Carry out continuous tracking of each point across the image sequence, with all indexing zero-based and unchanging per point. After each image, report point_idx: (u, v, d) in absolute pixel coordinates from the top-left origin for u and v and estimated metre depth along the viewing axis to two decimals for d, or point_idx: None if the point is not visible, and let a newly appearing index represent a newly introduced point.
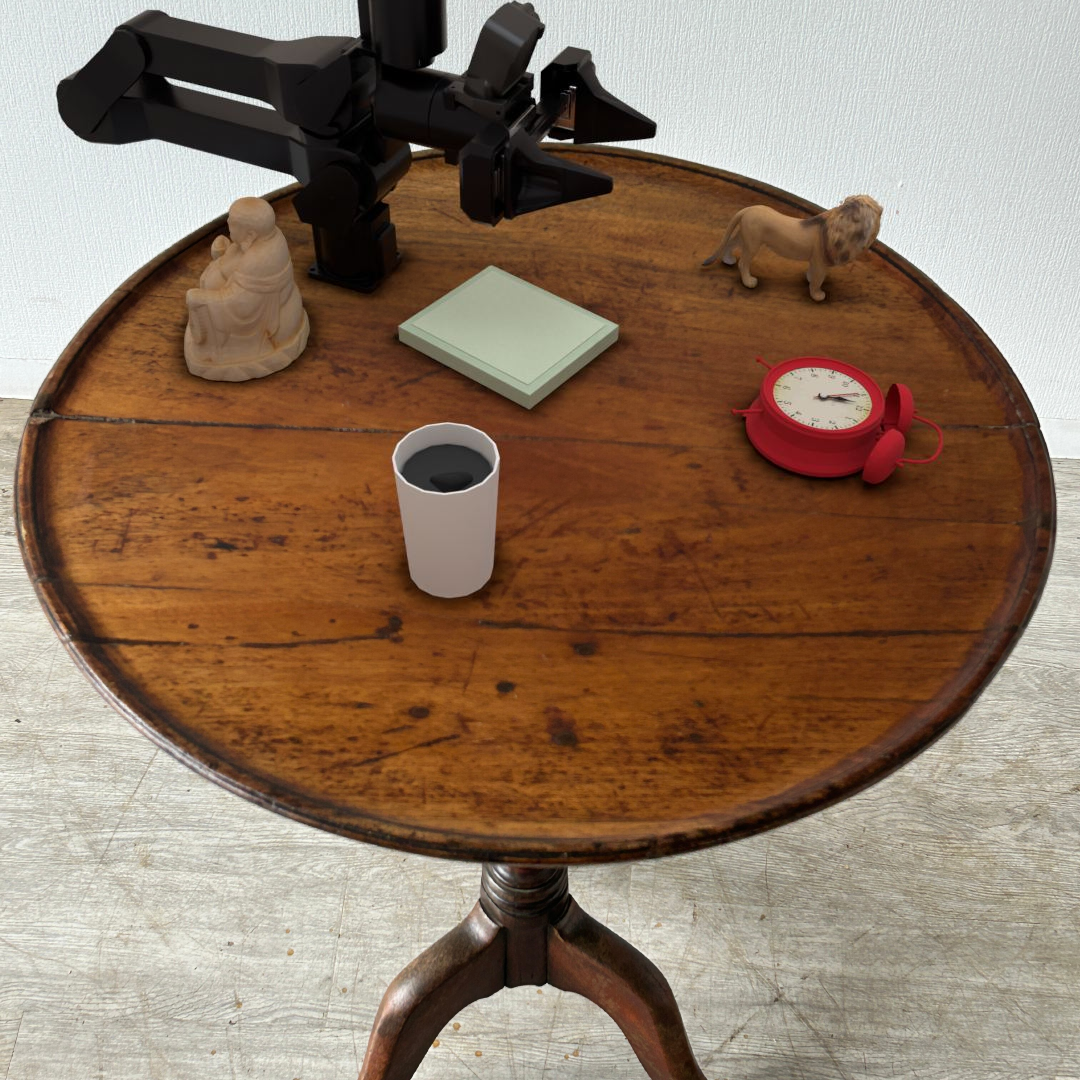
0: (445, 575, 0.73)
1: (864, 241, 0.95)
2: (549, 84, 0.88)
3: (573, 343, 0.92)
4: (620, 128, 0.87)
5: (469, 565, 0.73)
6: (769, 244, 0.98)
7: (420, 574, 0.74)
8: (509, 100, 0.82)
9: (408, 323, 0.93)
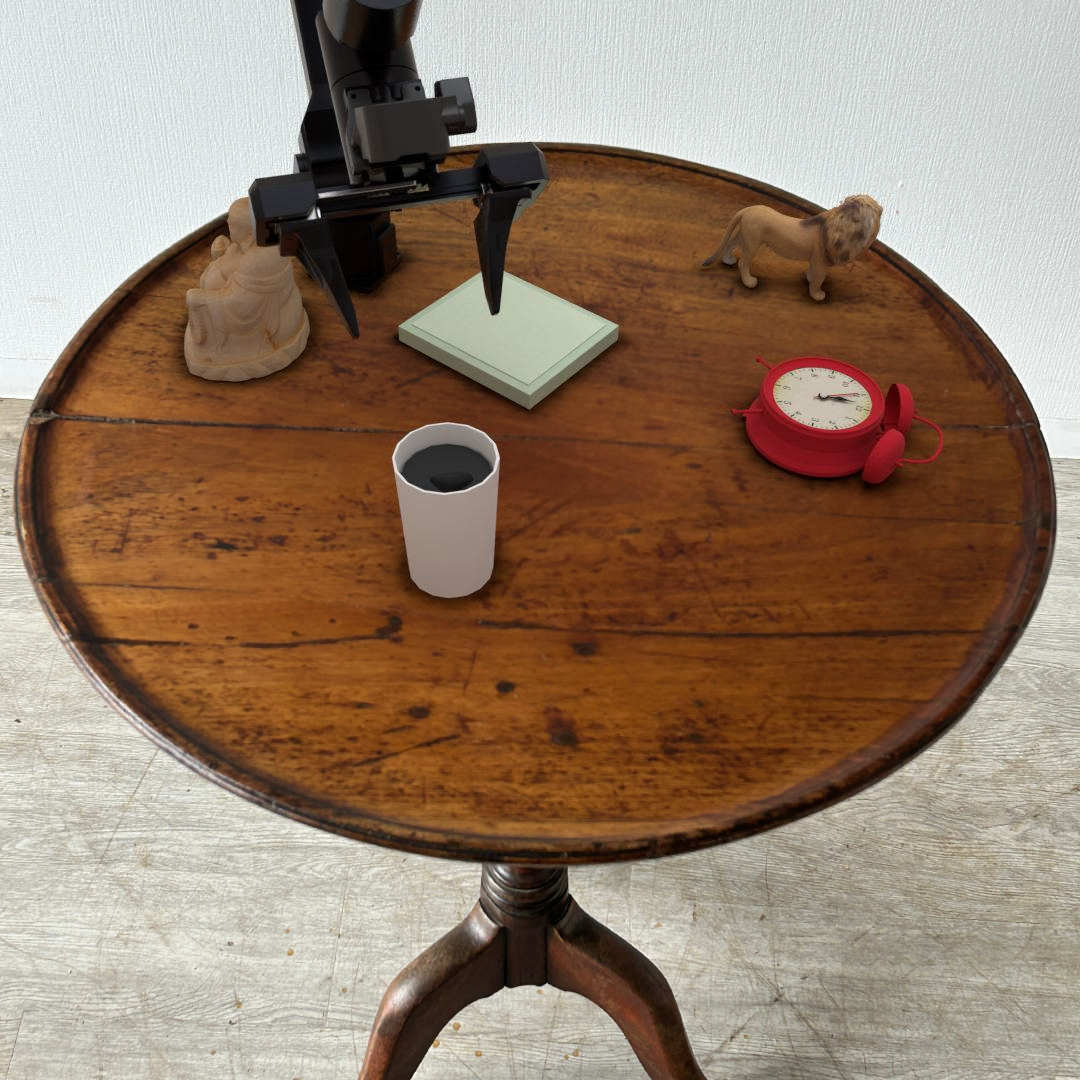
0: (445, 575, 0.73)
1: (864, 241, 0.96)
2: (481, 164, 0.72)
3: (573, 343, 0.92)
4: (485, 272, 0.74)
5: (469, 565, 0.73)
6: (769, 244, 0.98)
7: (420, 573, 0.74)
8: (378, 165, 0.69)
9: (408, 323, 0.93)
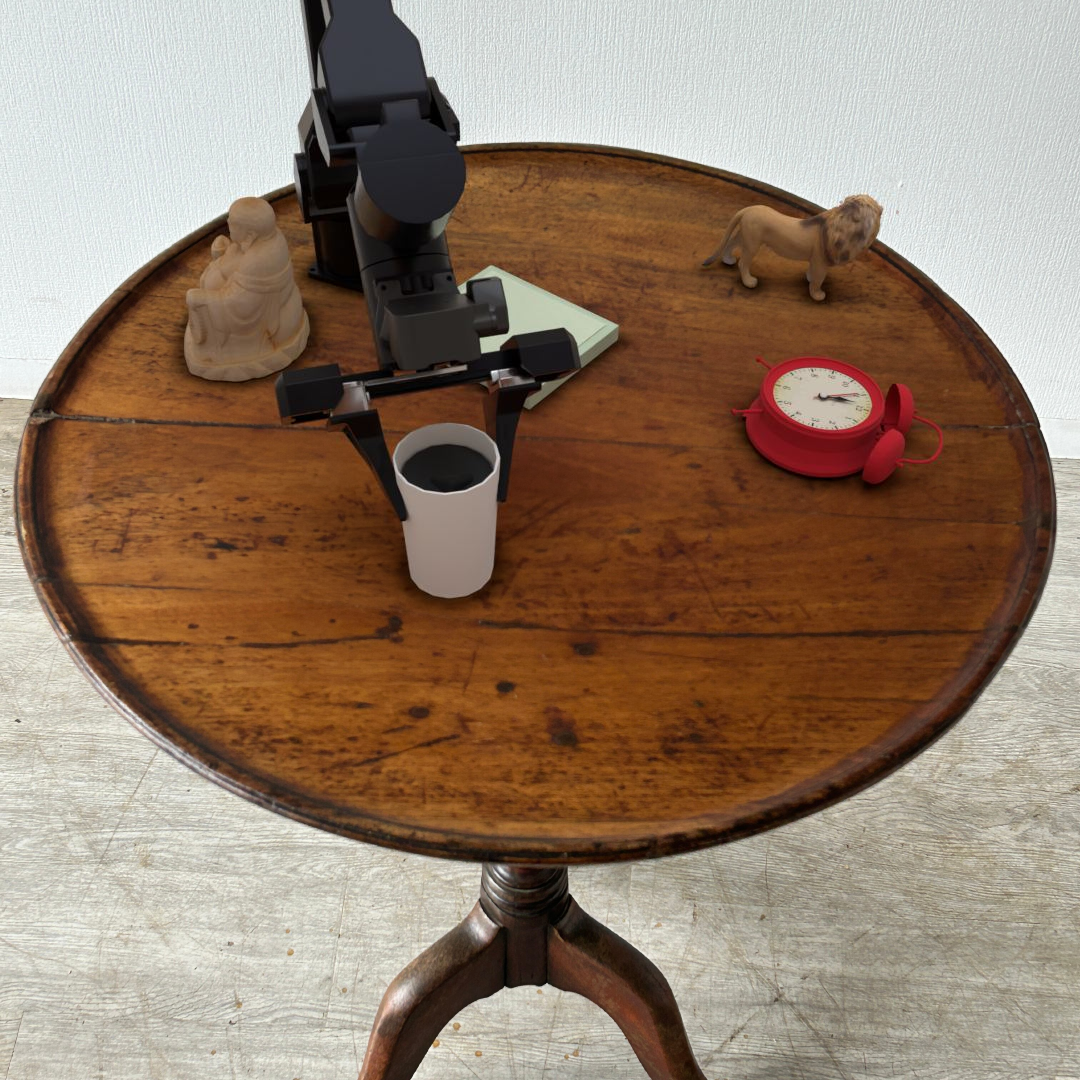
0: (445, 575, 0.73)
1: (864, 241, 0.96)
2: (512, 349, 0.71)
3: None
4: None
5: (470, 565, 0.73)
6: (769, 244, 0.98)
7: (420, 574, 0.74)
8: None
9: None
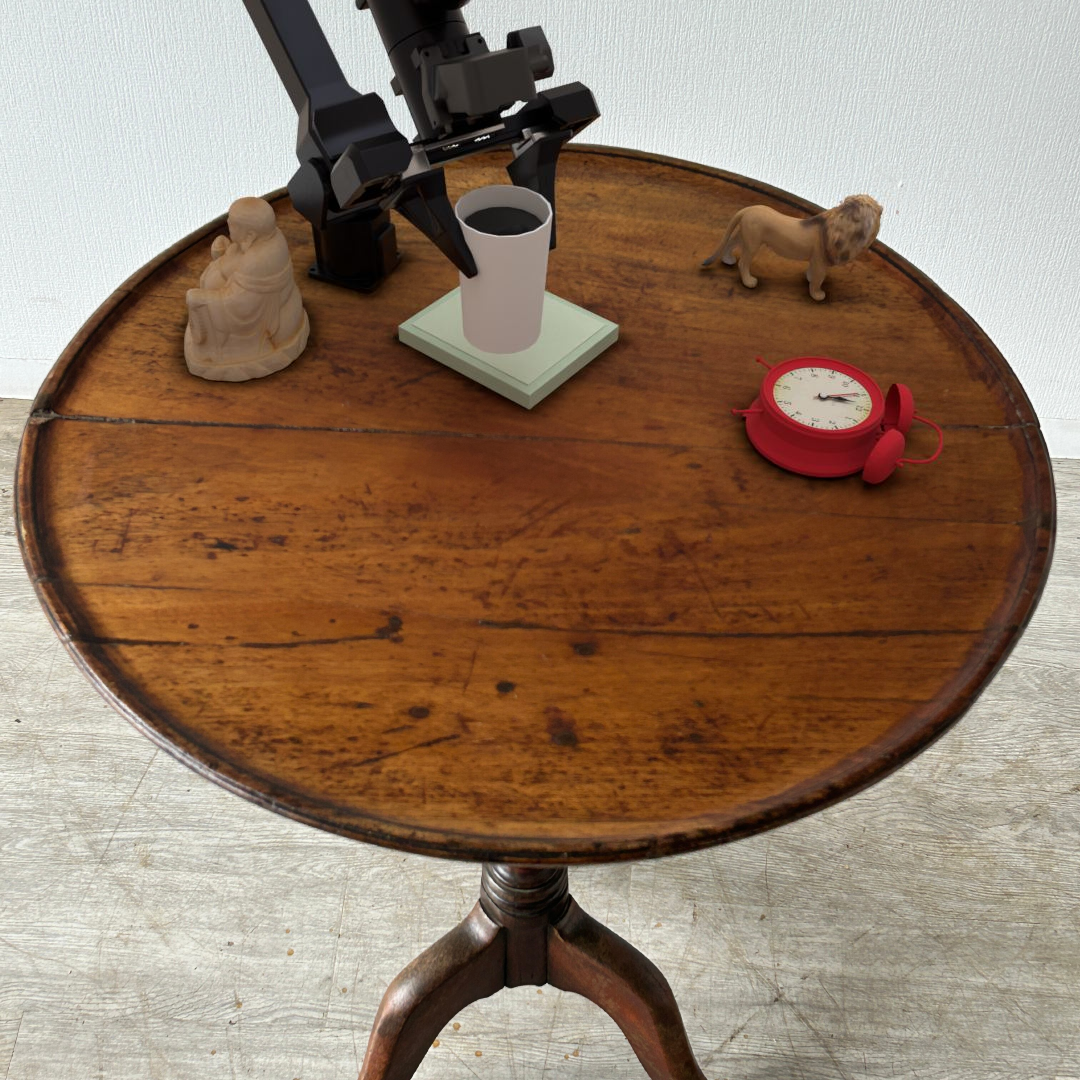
0: (510, 329, 0.80)
1: (864, 241, 0.96)
2: (537, 107, 0.78)
3: (573, 343, 0.92)
4: None
5: (531, 315, 0.80)
6: (769, 244, 0.98)
7: (484, 334, 0.81)
8: (458, 118, 0.74)
9: (408, 323, 0.93)
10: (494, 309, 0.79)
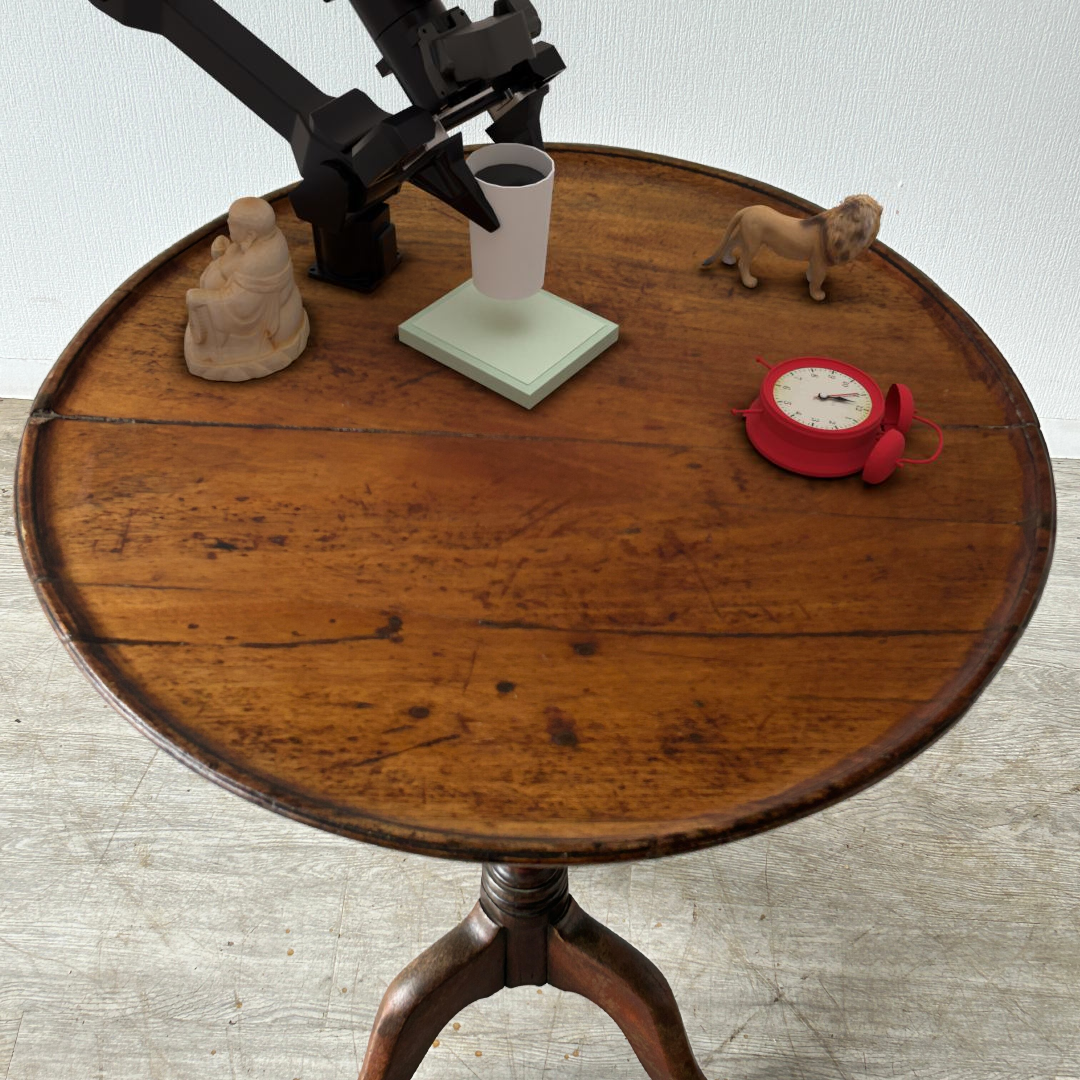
0: (528, 273, 0.87)
1: (864, 241, 0.96)
2: (512, 68, 0.85)
3: (573, 343, 0.92)
4: None
5: (542, 258, 0.88)
6: (769, 244, 0.98)
7: (504, 283, 0.87)
8: (461, 85, 0.80)
9: (408, 323, 0.93)
10: (514, 257, 0.86)
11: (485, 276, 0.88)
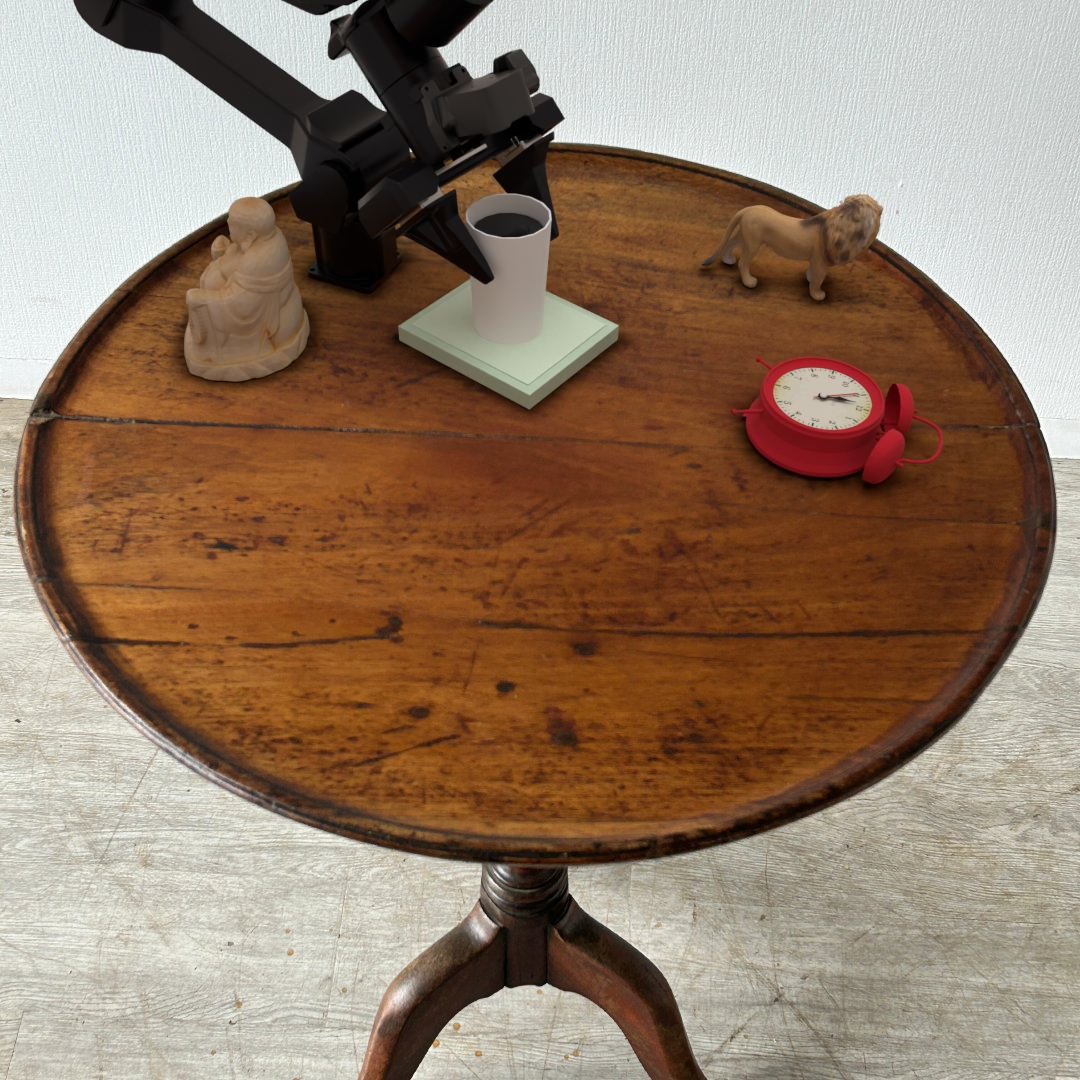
0: (527, 318, 0.90)
1: (864, 240, 0.96)
2: None
3: (573, 343, 0.92)
4: None
5: (541, 303, 0.91)
6: (769, 244, 0.98)
7: (504, 328, 0.90)
8: (462, 140, 0.83)
9: (408, 323, 0.93)
10: (514, 303, 0.89)
11: (486, 321, 0.91)
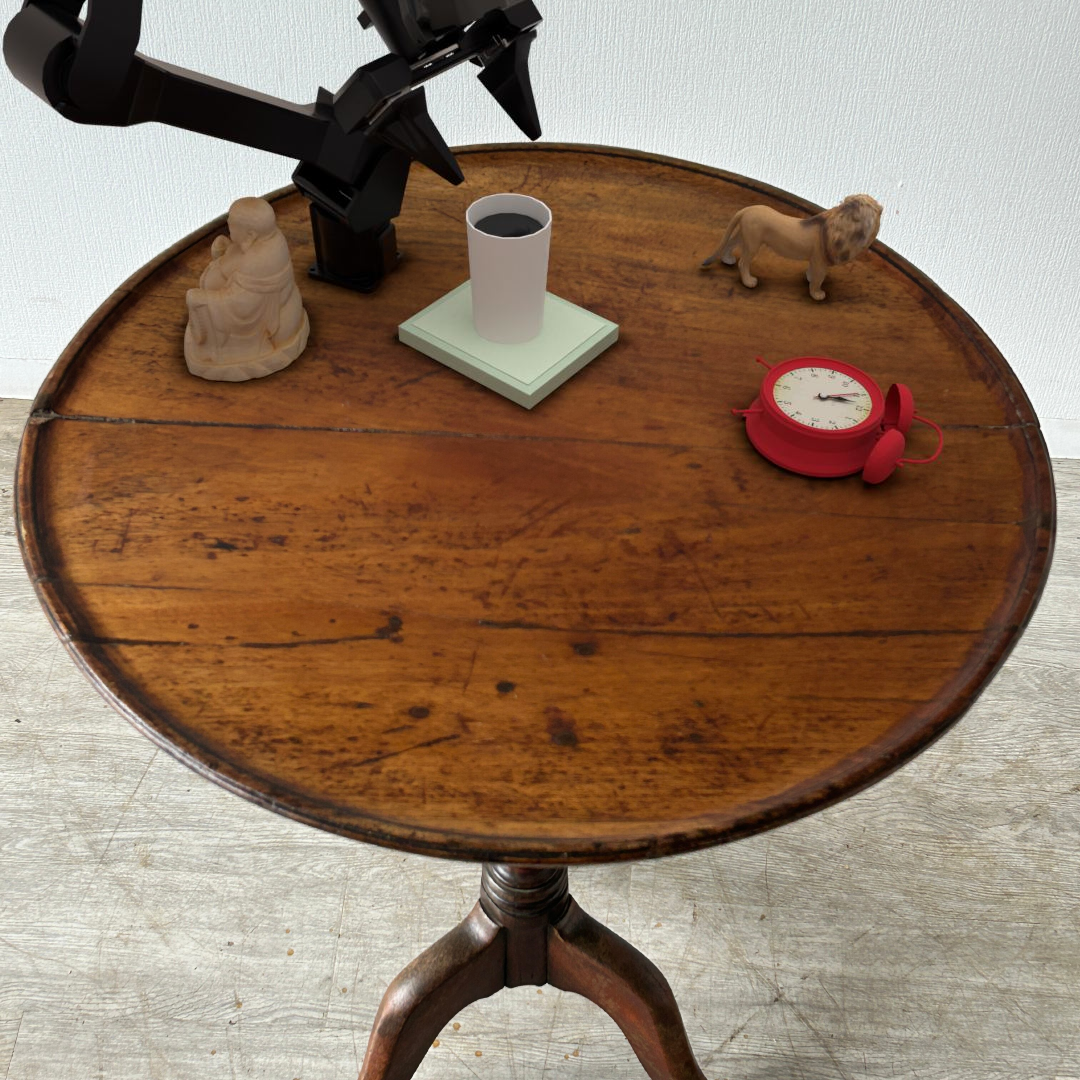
0: (527, 318, 0.90)
1: (864, 240, 0.96)
2: (490, 20, 0.88)
3: (573, 343, 0.92)
4: (515, 109, 0.90)
5: (541, 303, 0.91)
6: (769, 244, 0.98)
7: (504, 328, 0.90)
8: (437, 35, 0.83)
9: (408, 323, 0.93)
10: (514, 303, 0.89)
11: (486, 321, 0.91)
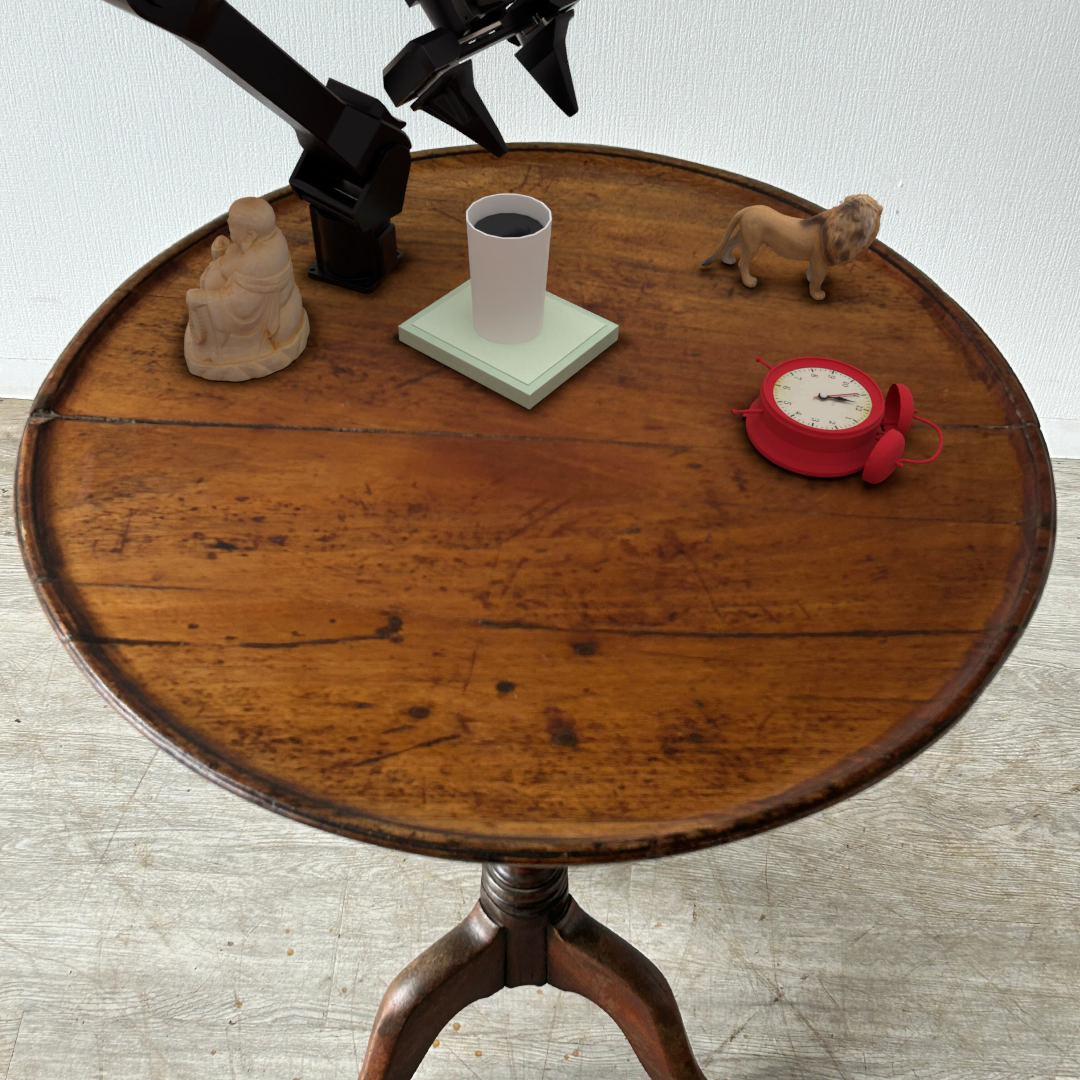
0: (527, 318, 0.90)
1: (864, 240, 0.96)
2: (529, 0, 0.91)
3: (573, 343, 0.92)
4: (552, 86, 0.94)
5: (541, 303, 0.91)
6: (769, 244, 0.98)
7: (504, 328, 0.90)
8: (483, 11, 0.86)
9: (408, 323, 0.93)
10: (514, 303, 0.89)
11: (486, 321, 0.91)
